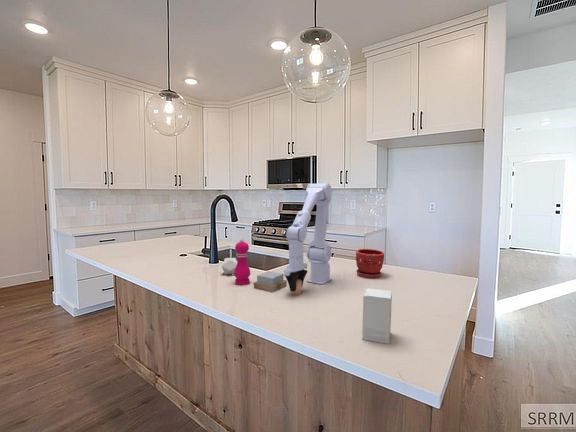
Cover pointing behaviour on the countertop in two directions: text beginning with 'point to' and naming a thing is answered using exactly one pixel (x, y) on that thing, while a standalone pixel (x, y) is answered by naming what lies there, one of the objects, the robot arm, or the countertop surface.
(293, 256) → the robot arm
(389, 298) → the supplement box
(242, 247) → the pepper mill
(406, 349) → the countertop surface
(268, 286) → the tower base
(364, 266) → the plant pot
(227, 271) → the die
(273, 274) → the tower top
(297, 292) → the cylinder
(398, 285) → the countertop surface
